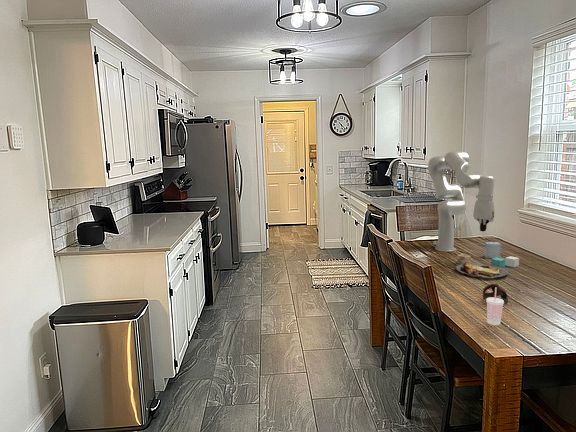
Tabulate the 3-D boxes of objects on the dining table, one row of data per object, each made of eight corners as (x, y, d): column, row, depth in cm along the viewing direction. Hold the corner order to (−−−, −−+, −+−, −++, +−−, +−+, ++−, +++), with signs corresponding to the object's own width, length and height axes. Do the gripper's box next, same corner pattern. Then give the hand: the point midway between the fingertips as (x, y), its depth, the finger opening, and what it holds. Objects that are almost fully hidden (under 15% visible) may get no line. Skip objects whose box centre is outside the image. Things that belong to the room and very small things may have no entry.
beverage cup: (505, 323, 165) (508, 287, 162) (497, 327, 161) (499, 291, 159) (490, 318, 170) (492, 283, 167) (481, 321, 166) (483, 286, 164)
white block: (504, 265, 240) (505, 257, 239) (509, 264, 243) (510, 256, 242) (514, 267, 236) (514, 259, 235) (518, 265, 239) (519, 258, 238)
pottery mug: (510, 306, 182) (502, 291, 181) (488, 312, 187) (479, 297, 186) (509, 291, 192) (501, 276, 191) (487, 296, 197) (479, 282, 196)
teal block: (491, 266, 238) (491, 258, 237) (496, 265, 241) (496, 257, 240) (499, 268, 234) (500, 260, 233) (504, 267, 237) (505, 259, 236)
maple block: (457, 263, 246) (457, 255, 245) (462, 261, 249) (462, 254, 248) (465, 265, 242) (465, 257, 241) (470, 263, 245) (470, 255, 244)
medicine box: (497, 256, 258) (498, 242, 257) (500, 258, 254) (501, 244, 253) (483, 256, 259) (484, 242, 258) (486, 258, 255) (487, 243, 253)
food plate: (447, 273, 228) (448, 266, 227) (464, 264, 244) (465, 258, 244) (498, 284, 211) (498, 277, 210) (512, 273, 228) (513, 267, 227)
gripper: (468, 197, 243) (466, 229, 246) (494, 200, 231) (492, 234, 234) (476, 196, 247) (474, 228, 250) (502, 199, 235) (499, 232, 238)
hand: (482, 230), depth 242 cm, fingers closed
